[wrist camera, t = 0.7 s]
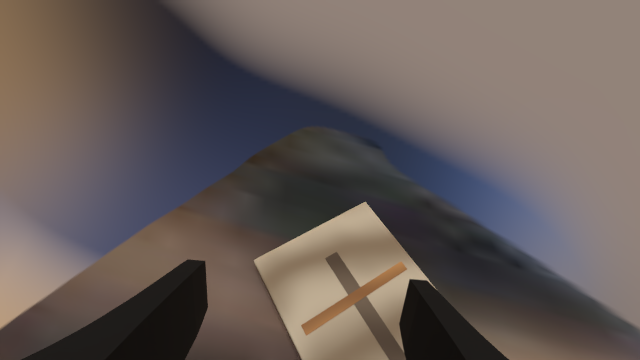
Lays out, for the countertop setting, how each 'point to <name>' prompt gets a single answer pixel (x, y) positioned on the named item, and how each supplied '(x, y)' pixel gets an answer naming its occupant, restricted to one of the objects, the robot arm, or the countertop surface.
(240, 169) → the countertop surface
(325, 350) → the fader board
